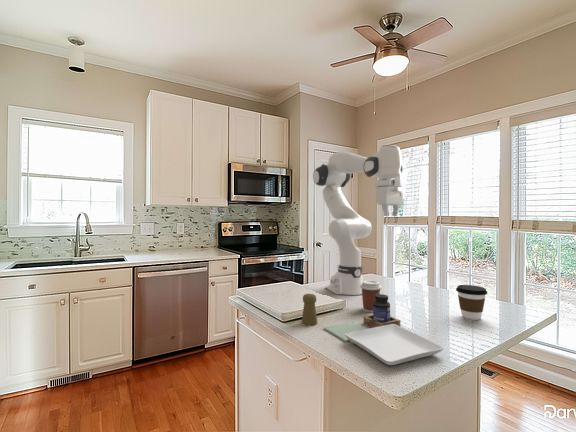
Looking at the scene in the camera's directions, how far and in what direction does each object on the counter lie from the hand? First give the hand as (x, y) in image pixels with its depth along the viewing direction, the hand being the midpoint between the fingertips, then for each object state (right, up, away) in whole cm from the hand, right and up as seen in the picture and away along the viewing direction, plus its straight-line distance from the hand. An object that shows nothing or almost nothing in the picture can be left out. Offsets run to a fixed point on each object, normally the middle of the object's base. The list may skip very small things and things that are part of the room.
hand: (390, 216), depth 131 cm
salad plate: (-11, -42, -35) cm, 55 cm away
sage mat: (-22, -41, -21) cm, 51 cm away
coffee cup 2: (+30, -41, -6) cm, 51 cm away
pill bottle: (-8, -41, -14) cm, 44 cm away
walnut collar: (-8, -41, -14) cm, 44 cm away
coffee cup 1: (-7, -41, +4) cm, 42 cm away
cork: (-35, -41, -12) cm, 55 cm away
